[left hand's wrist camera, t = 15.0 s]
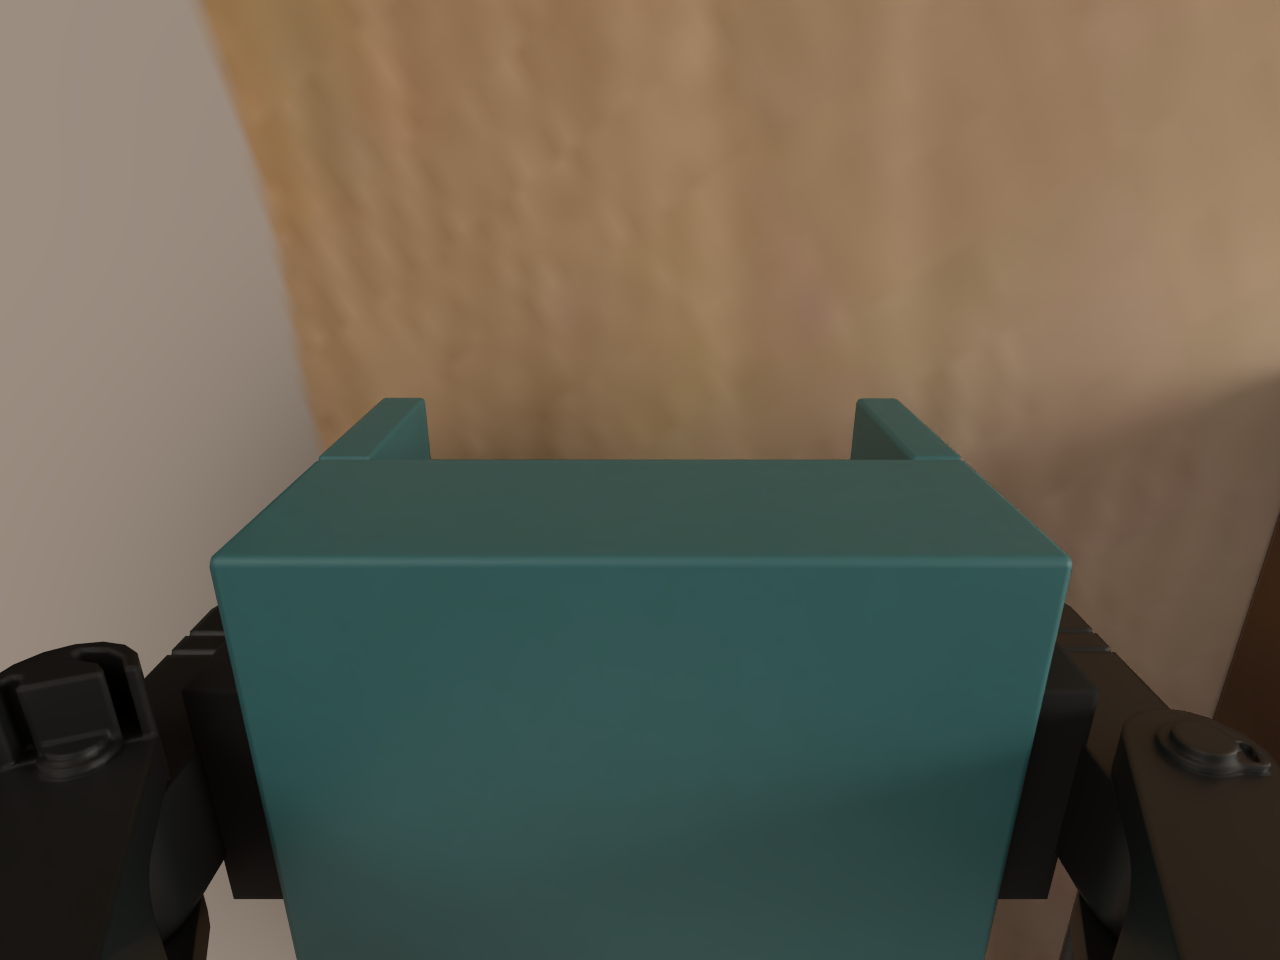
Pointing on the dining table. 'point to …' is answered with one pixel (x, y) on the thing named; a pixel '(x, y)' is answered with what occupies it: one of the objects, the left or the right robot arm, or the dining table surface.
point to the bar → (1258, 663)
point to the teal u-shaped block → (640, 698)
